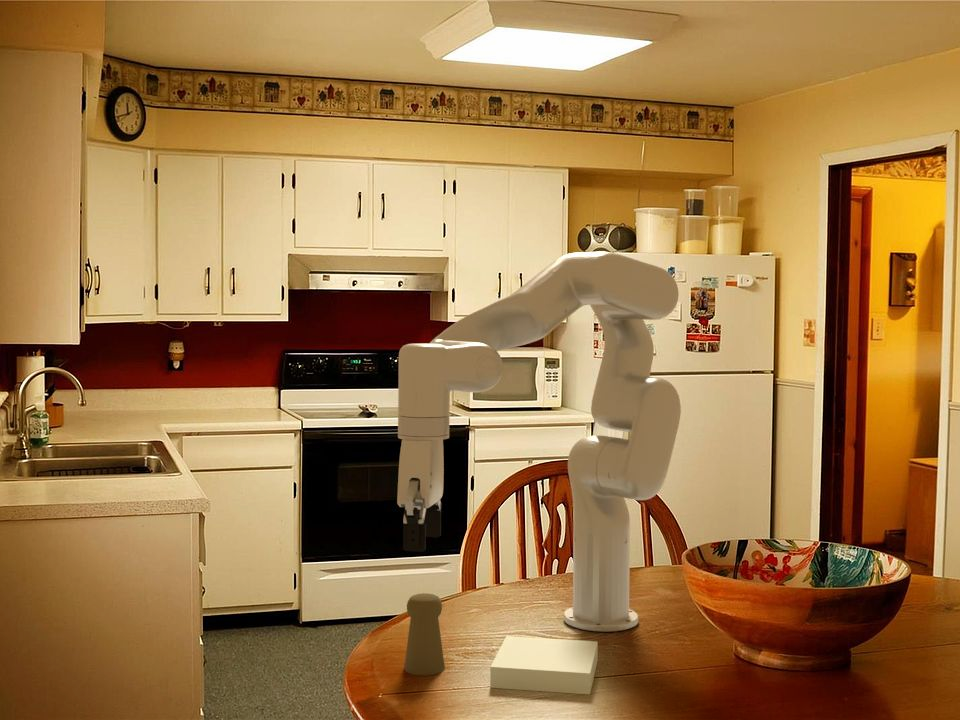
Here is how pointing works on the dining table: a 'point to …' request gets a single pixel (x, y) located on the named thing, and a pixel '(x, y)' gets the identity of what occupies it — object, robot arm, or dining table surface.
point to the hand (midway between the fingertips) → (422, 543)
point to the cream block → (545, 665)
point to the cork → (424, 636)
